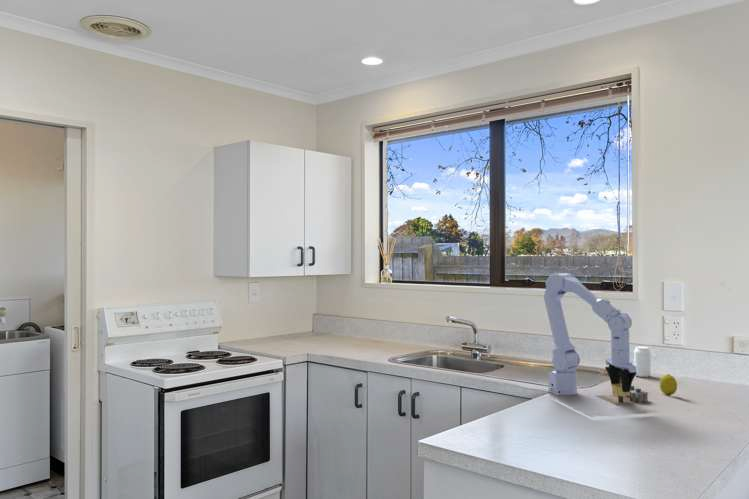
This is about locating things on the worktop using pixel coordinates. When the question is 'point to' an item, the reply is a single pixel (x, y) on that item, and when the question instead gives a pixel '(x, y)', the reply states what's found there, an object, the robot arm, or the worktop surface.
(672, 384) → the lemon
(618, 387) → the gear
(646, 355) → the beverage can
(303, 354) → the worktop surface
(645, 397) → the gear board
